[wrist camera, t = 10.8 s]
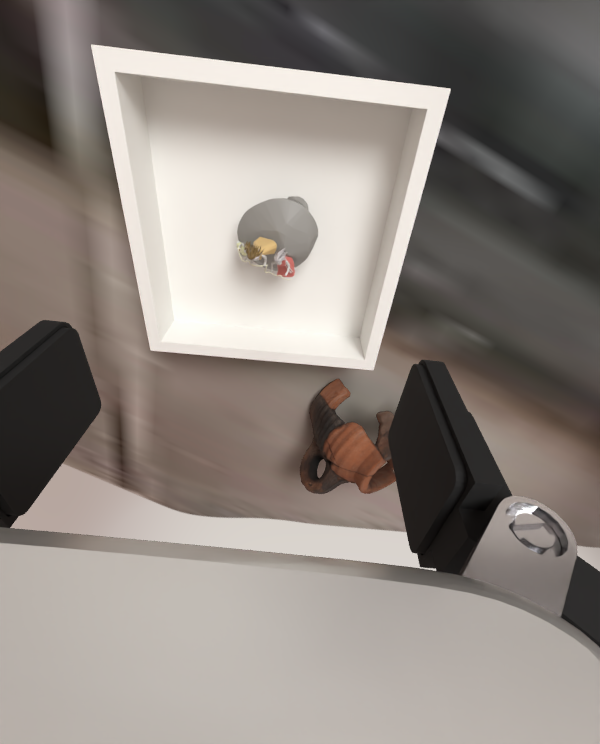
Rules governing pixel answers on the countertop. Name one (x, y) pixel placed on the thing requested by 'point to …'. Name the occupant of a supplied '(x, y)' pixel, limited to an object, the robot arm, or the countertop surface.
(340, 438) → the brown two-tone ridged part
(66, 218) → the countertop surface
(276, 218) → the figurine
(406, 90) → the bin
